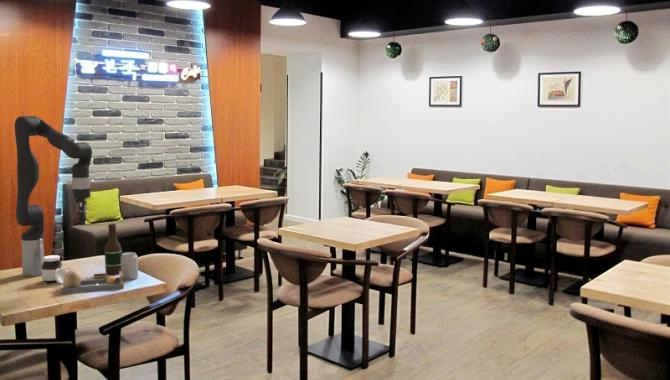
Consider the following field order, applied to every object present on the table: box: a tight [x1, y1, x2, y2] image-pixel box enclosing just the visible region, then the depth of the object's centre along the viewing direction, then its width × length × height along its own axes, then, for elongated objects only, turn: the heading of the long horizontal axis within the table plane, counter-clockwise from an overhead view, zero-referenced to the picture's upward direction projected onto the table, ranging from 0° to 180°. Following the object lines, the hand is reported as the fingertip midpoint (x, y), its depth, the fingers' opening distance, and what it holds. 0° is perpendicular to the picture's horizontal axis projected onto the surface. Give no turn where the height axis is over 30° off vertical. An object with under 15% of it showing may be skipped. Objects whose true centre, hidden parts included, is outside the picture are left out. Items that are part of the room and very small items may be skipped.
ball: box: [107, 275, 117, 284], centre depth 279 cm, size 4×4×4 cm
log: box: [62, 269, 82, 288], centre depth 274 cm, size 7×8×7 cm
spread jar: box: [41, 254, 68, 285], centre depth 285 cm, size 12×11×12 cm
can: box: [121, 251, 139, 281], centre depth 292 cm, size 8×8×12 cm
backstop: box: [118, 270, 125, 290], centre depth 280 cm, size 2×11×6 cm, turn 19°
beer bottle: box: [104, 223, 123, 276], centre depth 300 cm, size 8×8×24 cm
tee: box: [92, 272, 108, 280], centre depth 286 cm, size 6×6×3 cm
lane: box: [61, 277, 121, 295], centre depth 277 cm, size 23×11×2 cm, turn 109°
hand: (82, 222), depth 282 cm, fingers open, 8 cm apart
